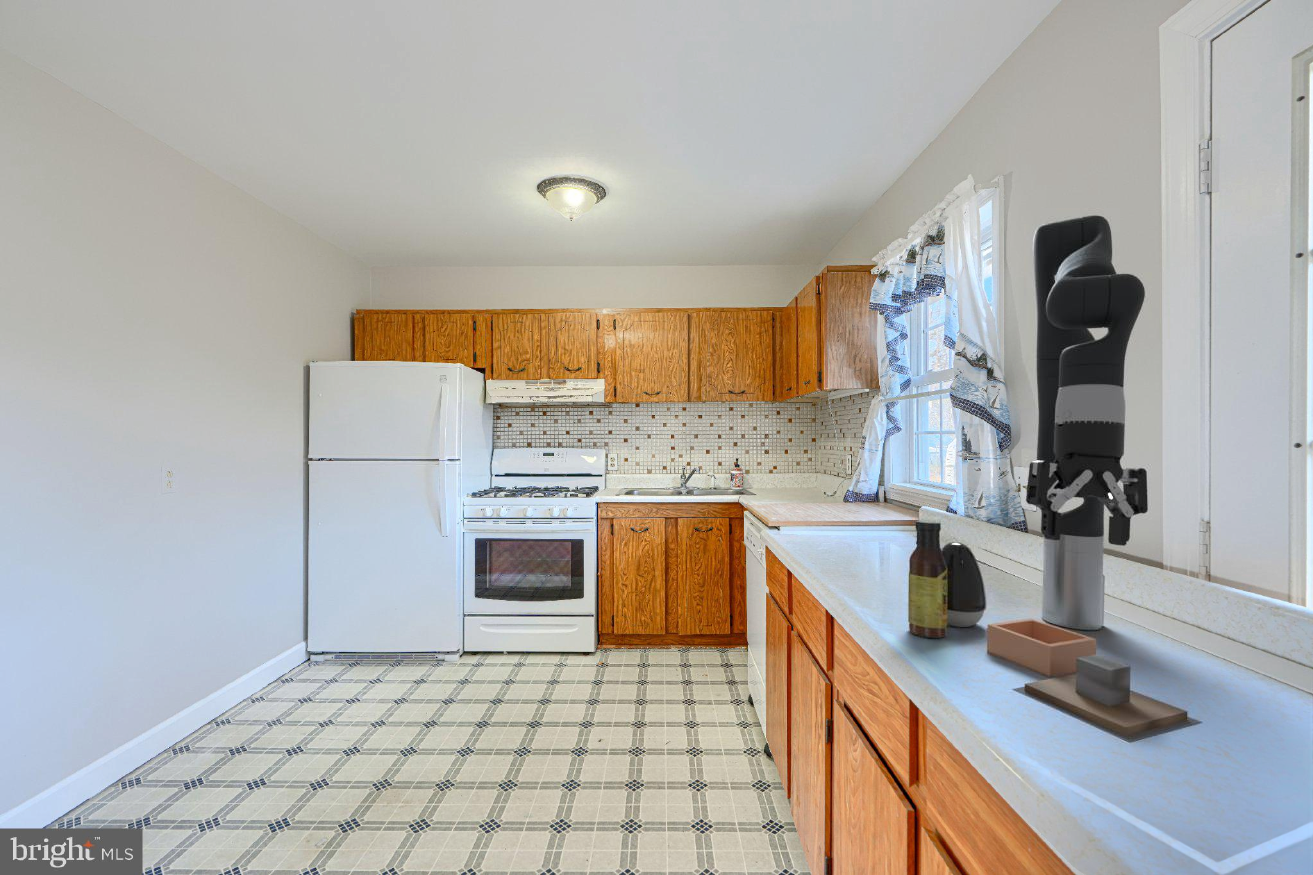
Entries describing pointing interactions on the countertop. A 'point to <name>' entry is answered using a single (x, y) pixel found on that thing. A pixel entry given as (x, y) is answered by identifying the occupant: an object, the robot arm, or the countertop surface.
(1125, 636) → the countertop surface
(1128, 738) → the mat
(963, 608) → the black egg-shaped device
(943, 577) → the sauce bottle
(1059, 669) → the terracotta storage tray
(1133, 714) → the lid
